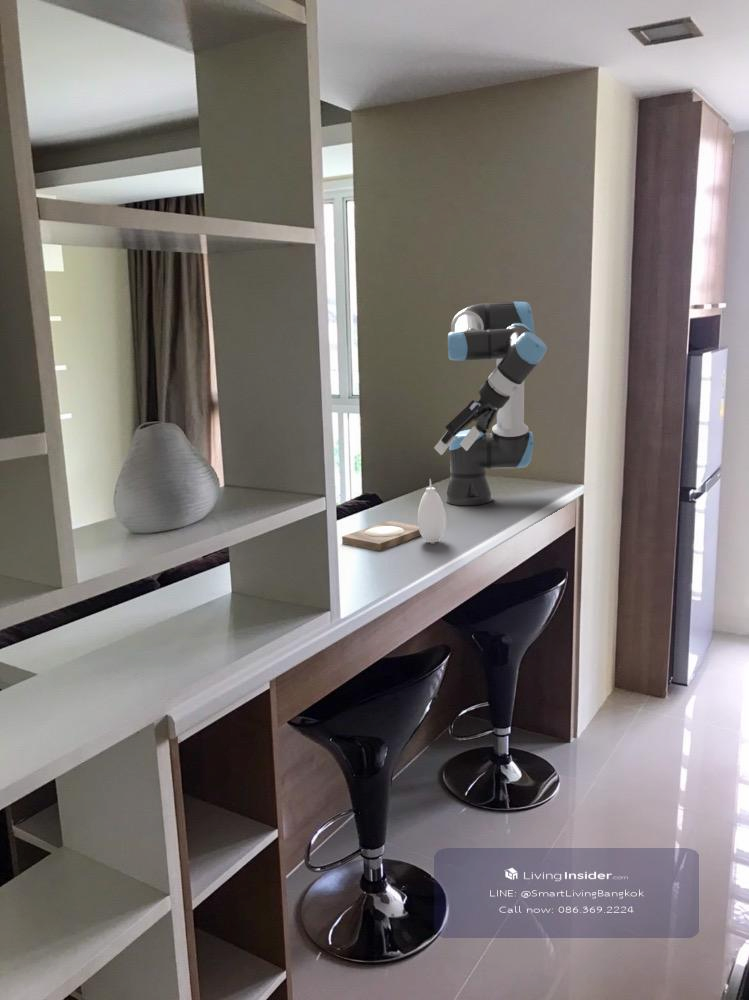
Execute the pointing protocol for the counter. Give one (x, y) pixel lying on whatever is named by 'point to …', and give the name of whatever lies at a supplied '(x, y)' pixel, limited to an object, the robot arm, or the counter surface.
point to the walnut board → (382, 535)
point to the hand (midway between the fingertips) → (450, 449)
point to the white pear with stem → (431, 516)
